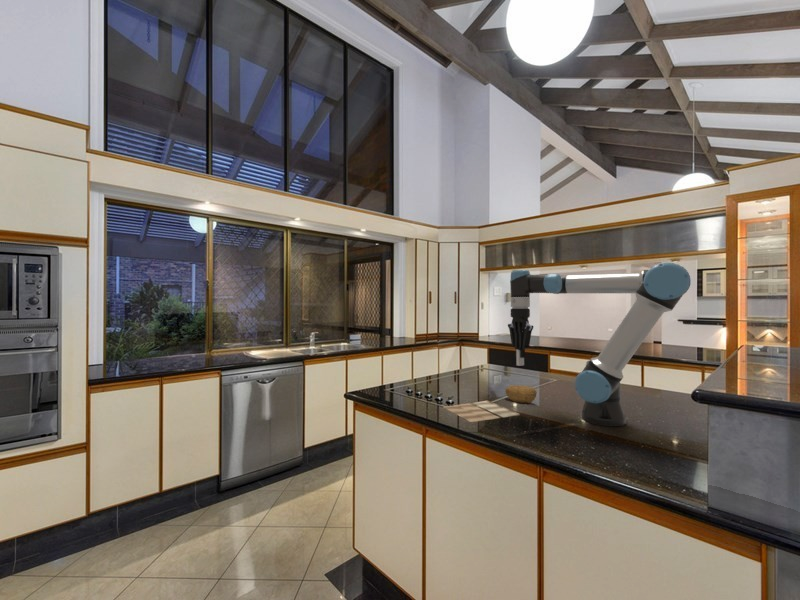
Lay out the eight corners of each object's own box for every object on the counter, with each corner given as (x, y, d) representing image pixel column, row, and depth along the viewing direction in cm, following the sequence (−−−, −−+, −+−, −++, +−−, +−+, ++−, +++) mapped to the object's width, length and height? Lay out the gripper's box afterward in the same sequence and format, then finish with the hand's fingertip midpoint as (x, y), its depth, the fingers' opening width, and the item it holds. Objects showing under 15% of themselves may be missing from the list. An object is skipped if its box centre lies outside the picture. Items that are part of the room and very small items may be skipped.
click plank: (519, 417, 148) (519, 413, 148) (503, 420, 145) (503, 416, 145) (486, 403, 168) (486, 400, 168) (471, 405, 165) (471, 402, 165)
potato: (510, 398, 178) (510, 381, 178) (539, 403, 169) (539, 386, 169) (501, 402, 170) (501, 385, 170) (532, 408, 161) (532, 390, 161)
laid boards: (501, 420, 144) (501, 417, 144) (470, 425, 139) (470, 422, 139) (469, 406, 165) (469, 403, 165) (442, 409, 160) (442, 406, 160)
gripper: (502, 307, 157) (502, 363, 156) (523, 308, 144) (524, 368, 144) (516, 307, 159) (517, 362, 159) (538, 308, 147) (539, 367, 147)
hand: (520, 365), depth 152 cm, fingers closed
